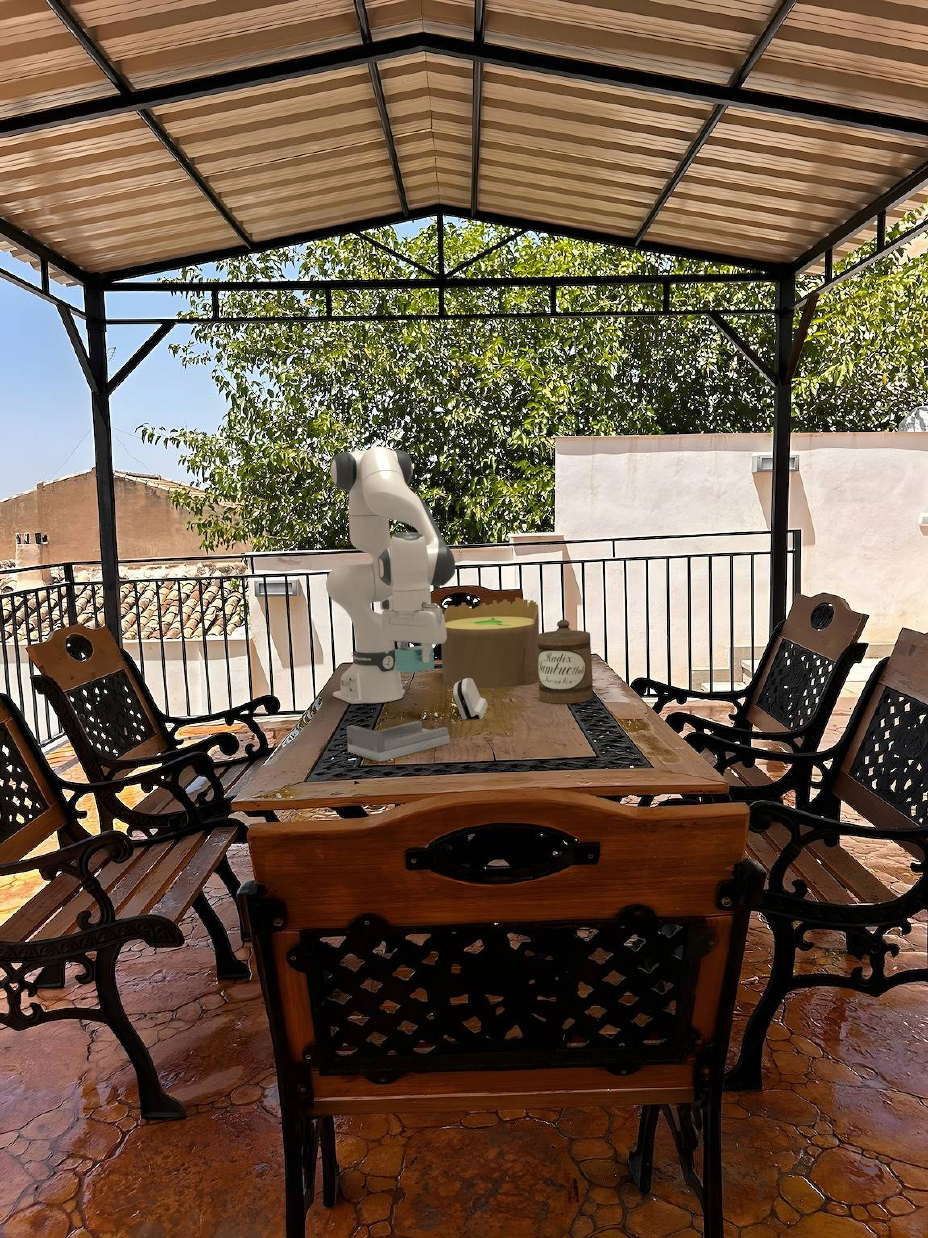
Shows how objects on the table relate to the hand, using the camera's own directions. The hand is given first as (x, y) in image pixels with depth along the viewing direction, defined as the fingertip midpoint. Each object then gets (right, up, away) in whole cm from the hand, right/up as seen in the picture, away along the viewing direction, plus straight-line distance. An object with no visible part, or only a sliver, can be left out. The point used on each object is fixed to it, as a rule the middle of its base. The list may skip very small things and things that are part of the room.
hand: (415, 661), depth 209 cm
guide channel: (-3, -20, -5) cm, 20 cm away
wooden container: (+40, -12, +40) cm, 57 cm away
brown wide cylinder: (+20, -9, +74) cm, 77 cm away
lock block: (0, -2, 0) cm, 2 cm away
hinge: (+13, -15, +28) cm, 35 cm away
